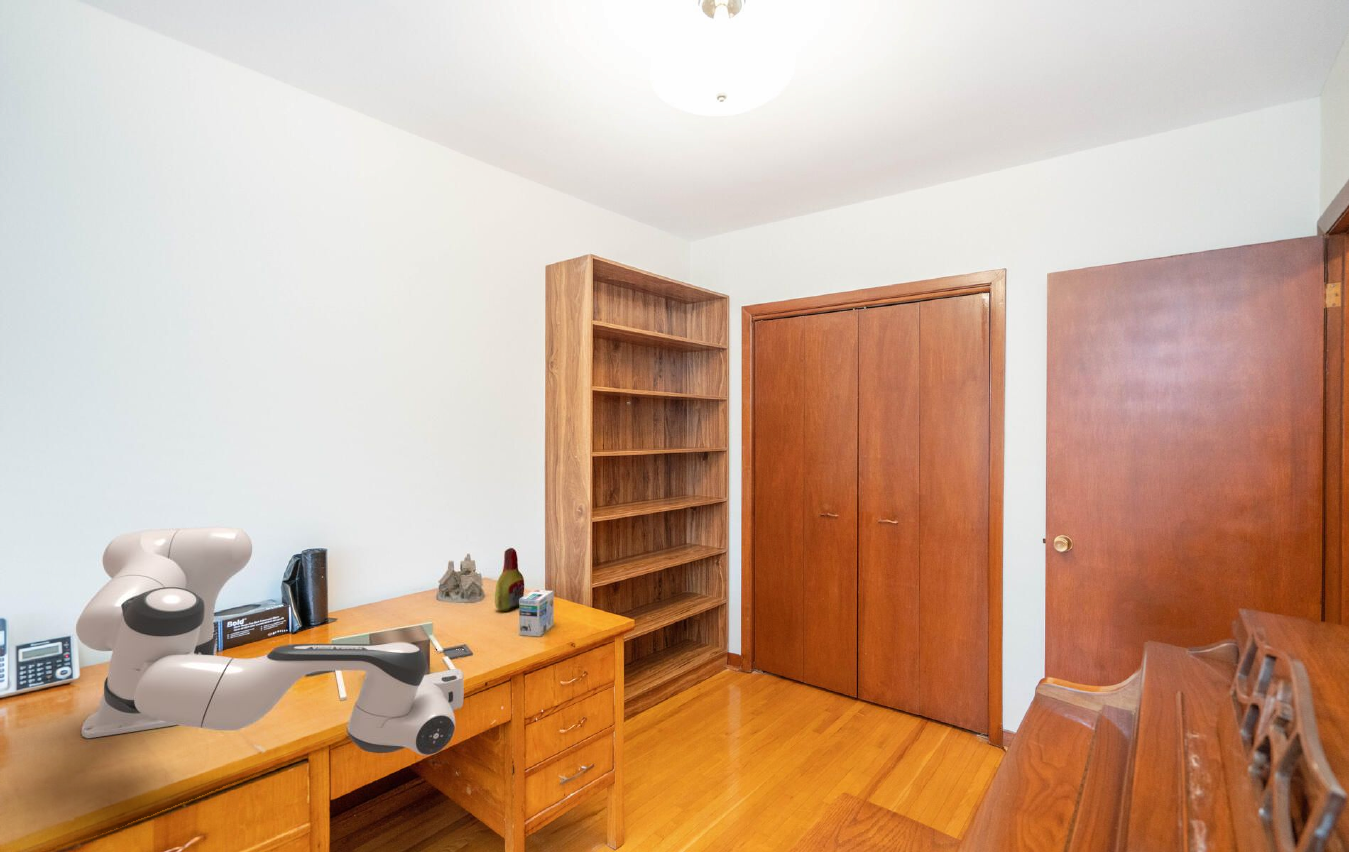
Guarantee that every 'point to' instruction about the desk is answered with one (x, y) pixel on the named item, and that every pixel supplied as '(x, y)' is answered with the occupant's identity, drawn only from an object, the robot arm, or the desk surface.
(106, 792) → the desk surface
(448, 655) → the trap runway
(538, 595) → the light bulb box
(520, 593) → the bottle
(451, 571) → the ceramic cottage
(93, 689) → the desk surface
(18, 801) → the desk surface
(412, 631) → the walnut block
